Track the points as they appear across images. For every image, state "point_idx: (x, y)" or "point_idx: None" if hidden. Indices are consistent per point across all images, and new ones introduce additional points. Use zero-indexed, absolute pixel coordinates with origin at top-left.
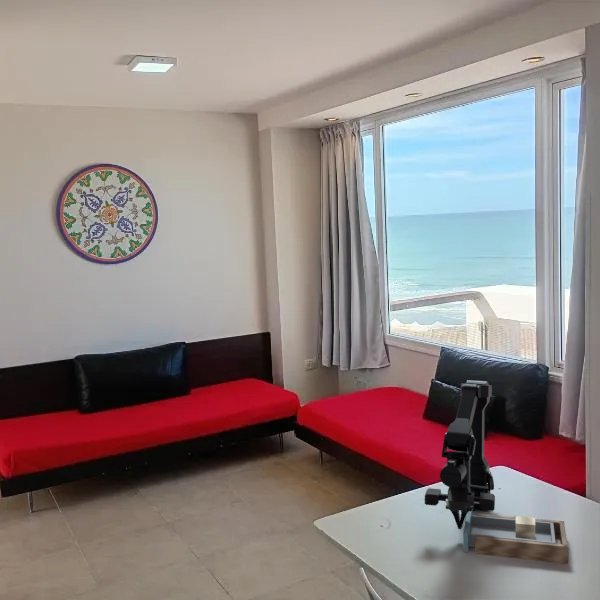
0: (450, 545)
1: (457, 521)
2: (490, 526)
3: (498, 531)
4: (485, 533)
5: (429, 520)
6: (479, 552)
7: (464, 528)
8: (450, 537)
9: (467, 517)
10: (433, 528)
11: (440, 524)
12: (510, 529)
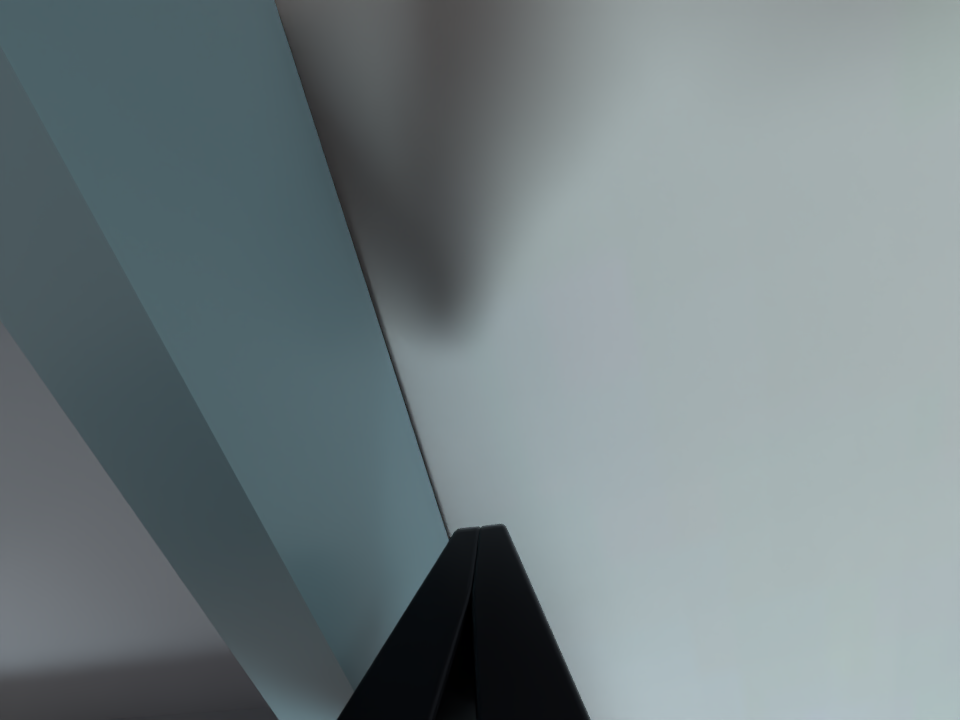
0: (567, 199)
1: (511, 655)
2: (209, 705)
3: (65, 643)
4: (153, 564)
5: (897, 683)
6: None
7: (177, 385)
8: (617, 432)
9: None
10: (855, 562)
11: (773, 648)
12: (2, 703)
